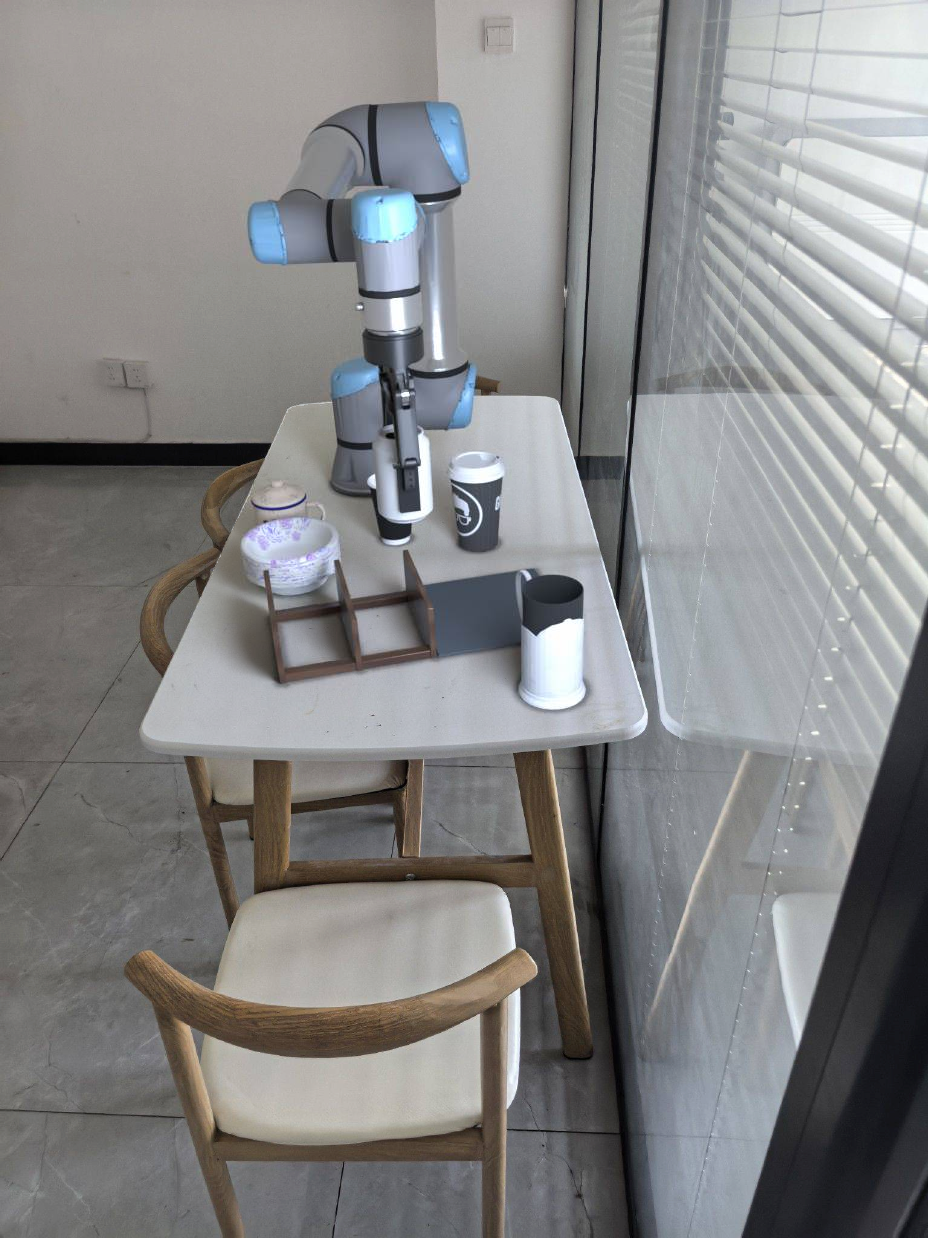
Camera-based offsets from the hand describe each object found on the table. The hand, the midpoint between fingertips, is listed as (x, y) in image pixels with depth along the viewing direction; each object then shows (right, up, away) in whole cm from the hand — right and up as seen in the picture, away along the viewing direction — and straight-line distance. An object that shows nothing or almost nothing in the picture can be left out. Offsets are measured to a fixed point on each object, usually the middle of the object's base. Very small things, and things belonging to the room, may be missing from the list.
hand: (405, 498), depth 130 cm
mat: (+12, -15, +13) cm, 23 cm away
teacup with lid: (-21, -3, +35) cm, 41 cm away
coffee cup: (+10, -4, +32) cm, 34 cm away
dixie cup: (-4, -3, +35) cm, 35 cm away
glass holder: (+18, -24, -3) cm, 31 cm away
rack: (-8, -19, +8) cm, 22 cm away
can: (0, -2, +1) cm, 3 cm away
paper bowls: (-19, -11, +23) cm, 31 cm away
